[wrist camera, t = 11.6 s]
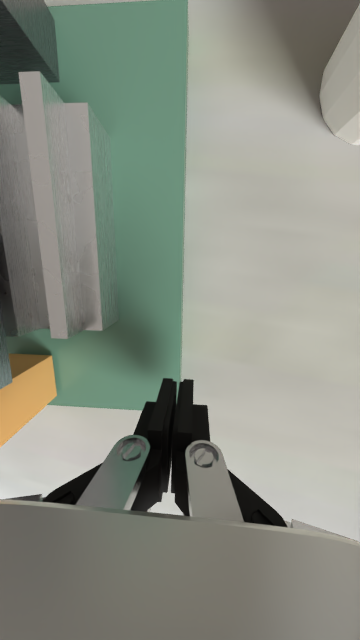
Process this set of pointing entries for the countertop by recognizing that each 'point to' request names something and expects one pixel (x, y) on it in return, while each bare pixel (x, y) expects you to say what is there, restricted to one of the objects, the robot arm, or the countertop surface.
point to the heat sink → (51, 191)
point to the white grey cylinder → (343, 85)
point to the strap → (4, 356)
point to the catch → (25, 392)
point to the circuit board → (128, 196)
